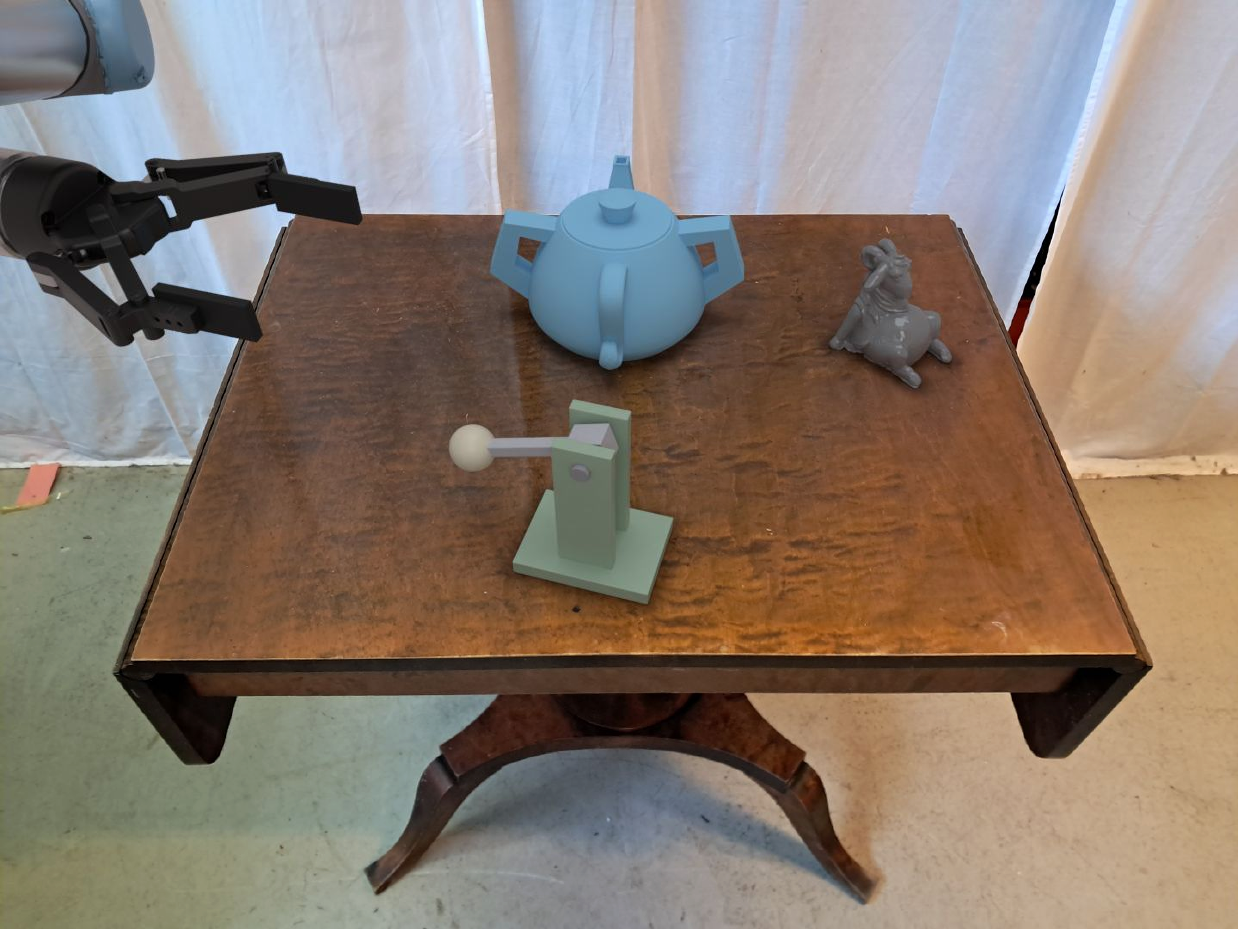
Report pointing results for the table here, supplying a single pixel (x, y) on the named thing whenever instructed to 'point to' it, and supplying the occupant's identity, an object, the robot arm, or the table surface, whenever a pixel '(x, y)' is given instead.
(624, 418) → the green lever stand
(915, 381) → the figurine
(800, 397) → the table surface
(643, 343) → the teapot
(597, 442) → the knob lever
